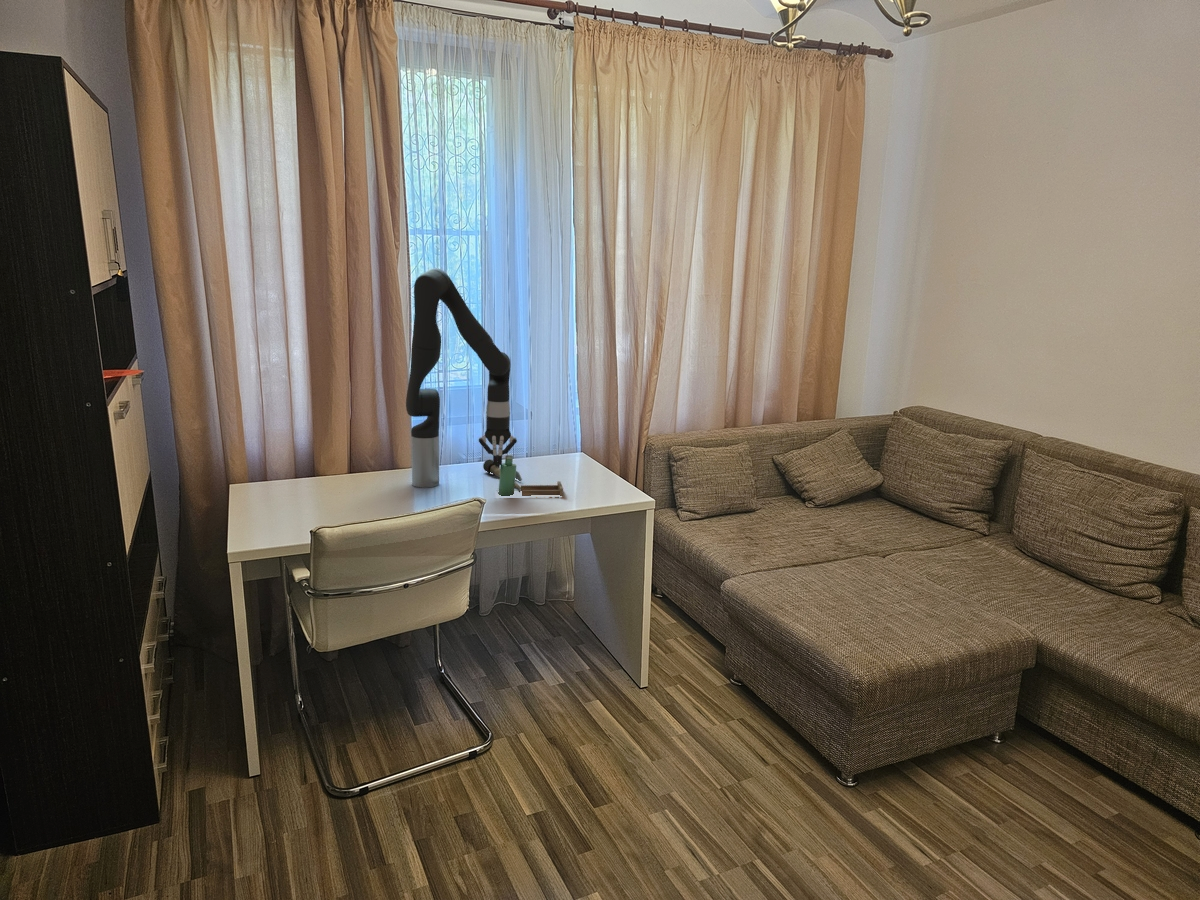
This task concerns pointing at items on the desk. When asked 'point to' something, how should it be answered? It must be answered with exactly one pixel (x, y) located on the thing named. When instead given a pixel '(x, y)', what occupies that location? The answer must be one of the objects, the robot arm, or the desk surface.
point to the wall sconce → (498, 471)
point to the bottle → (507, 477)
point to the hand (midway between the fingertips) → (497, 466)
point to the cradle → (542, 489)
